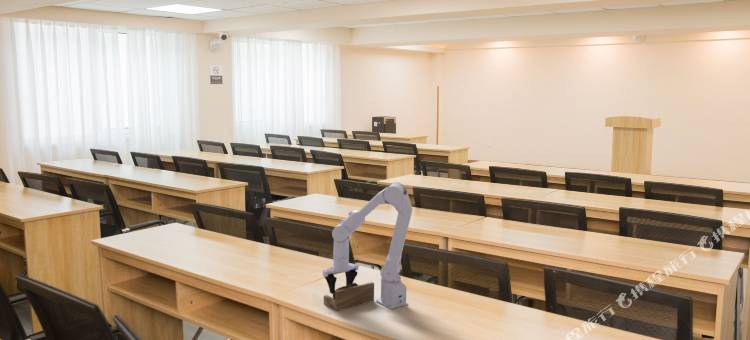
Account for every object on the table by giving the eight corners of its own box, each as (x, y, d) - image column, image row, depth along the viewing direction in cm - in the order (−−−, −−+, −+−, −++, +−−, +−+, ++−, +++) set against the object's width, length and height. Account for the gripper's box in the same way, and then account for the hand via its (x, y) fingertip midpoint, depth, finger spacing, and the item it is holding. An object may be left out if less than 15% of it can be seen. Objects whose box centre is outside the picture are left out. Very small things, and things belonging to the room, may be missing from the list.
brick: (352, 292, 223) (355, 281, 221) (359, 297, 220) (362, 287, 219) (331, 299, 215) (333, 288, 214) (338, 305, 213) (340, 294, 211)
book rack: (373, 301, 217) (374, 283, 216) (336, 310, 207) (336, 291, 206) (360, 294, 224) (360, 276, 223) (323, 303, 214) (323, 284, 213)
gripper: (351, 250, 225) (350, 284, 227) (318, 256, 216) (318, 291, 218) (361, 255, 219) (361, 290, 221) (328, 261, 211) (328, 297, 213)
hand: (340, 291), depth 220 cm, fingers open, 7 cm apart
